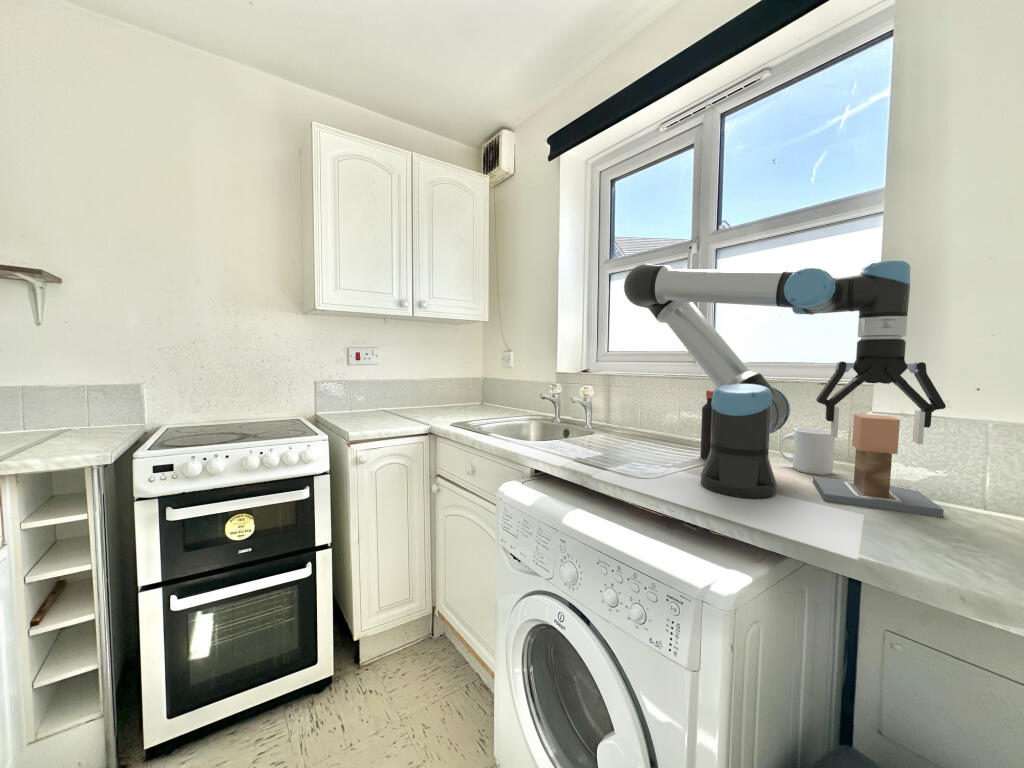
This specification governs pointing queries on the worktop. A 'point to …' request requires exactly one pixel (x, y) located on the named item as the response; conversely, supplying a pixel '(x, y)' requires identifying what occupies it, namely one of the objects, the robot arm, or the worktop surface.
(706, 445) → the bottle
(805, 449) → the mug
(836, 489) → the baseboard
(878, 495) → the tall cardboard box
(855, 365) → the robot arm
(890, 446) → the cap cube
